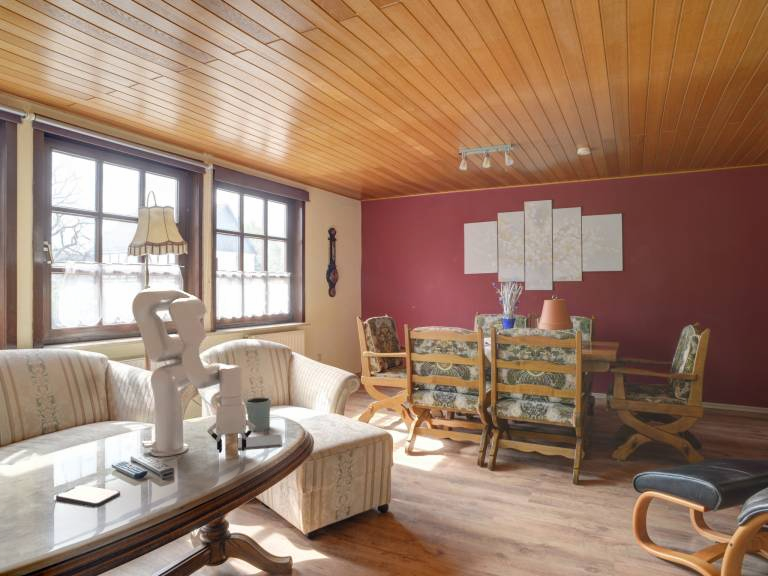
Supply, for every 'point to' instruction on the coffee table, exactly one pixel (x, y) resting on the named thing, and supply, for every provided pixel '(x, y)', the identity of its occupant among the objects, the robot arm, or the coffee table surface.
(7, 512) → the coffee table surface
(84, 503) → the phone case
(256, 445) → the mat
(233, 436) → the maple block
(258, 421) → the grey-green cup
